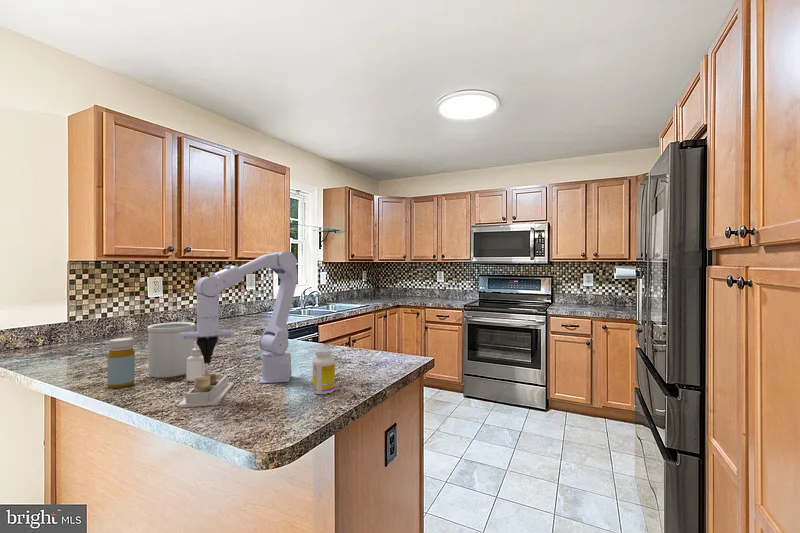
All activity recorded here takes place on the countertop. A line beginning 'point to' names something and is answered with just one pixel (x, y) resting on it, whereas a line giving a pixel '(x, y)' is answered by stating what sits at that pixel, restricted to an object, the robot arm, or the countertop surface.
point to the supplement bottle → (323, 372)
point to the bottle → (121, 363)
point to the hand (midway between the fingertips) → (207, 362)
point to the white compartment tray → (208, 394)
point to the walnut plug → (211, 378)
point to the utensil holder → (169, 348)
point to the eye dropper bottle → (195, 365)
